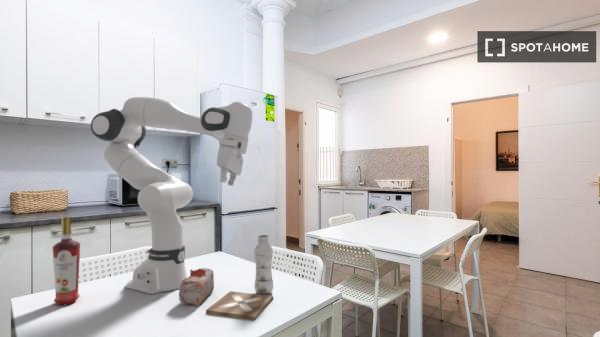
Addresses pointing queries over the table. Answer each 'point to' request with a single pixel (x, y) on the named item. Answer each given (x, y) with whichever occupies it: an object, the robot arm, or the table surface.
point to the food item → (196, 286)
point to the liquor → (66, 265)
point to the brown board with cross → (240, 305)
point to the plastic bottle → (263, 266)
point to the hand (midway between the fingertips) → (226, 183)
